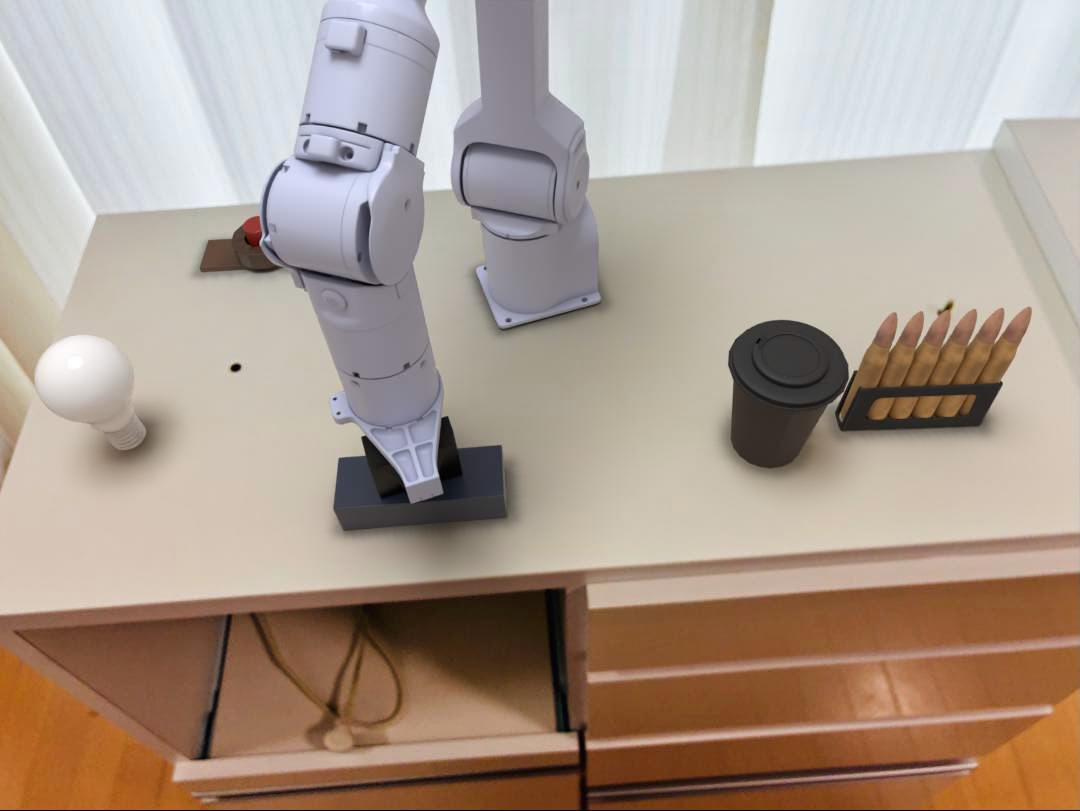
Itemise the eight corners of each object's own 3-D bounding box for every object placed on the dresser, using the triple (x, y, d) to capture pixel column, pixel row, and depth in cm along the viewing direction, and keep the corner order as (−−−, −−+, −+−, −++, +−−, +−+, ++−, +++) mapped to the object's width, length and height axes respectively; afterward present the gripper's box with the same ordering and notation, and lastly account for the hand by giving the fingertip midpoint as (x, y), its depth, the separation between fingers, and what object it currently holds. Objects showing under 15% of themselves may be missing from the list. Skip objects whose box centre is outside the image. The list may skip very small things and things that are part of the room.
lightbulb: (149, 480, 63) (80, 390, 55) (76, 468, 64) (-4, 378, 56) (186, 415, 67) (127, 321, 59) (117, 405, 68) (48, 311, 60)
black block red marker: (456, 453, 60) (447, 414, 56) (463, 475, 59) (454, 436, 55) (375, 476, 59) (361, 438, 55) (380, 499, 58) (366, 461, 54)
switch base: (504, 467, 63) (501, 444, 60) (507, 517, 60) (504, 495, 58) (347, 479, 63) (338, 457, 60) (343, 530, 60) (332, 509, 58)
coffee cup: (707, 397, 66) (723, 310, 58) (810, 397, 66) (841, 309, 58) (717, 483, 61) (737, 400, 53) (829, 484, 61) (865, 400, 53)
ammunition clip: (839, 431, 63) (884, 323, 54) (834, 412, 65) (876, 303, 55) (980, 426, 63) (1050, 316, 54) (972, 407, 64) (1039, 296, 55)
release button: (276, 229, 78) (270, 214, 77) (272, 246, 77) (266, 231, 75) (251, 230, 78) (245, 216, 77) (246, 247, 77) (240, 233, 75)
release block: (333, 233, 80) (327, 213, 79) (326, 270, 77) (320, 251, 75) (211, 239, 81) (202, 220, 79) (199, 277, 77) (190, 258, 75)
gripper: (291, 278, 51) (342, 411, 62) (334, 459, 43) (385, 576, 54) (401, 249, 53) (433, 384, 63) (464, 420, 44) (488, 542, 55)
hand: (417, 470), depth 58 cm, fingers closed on black block red marker, 2 cm apart
